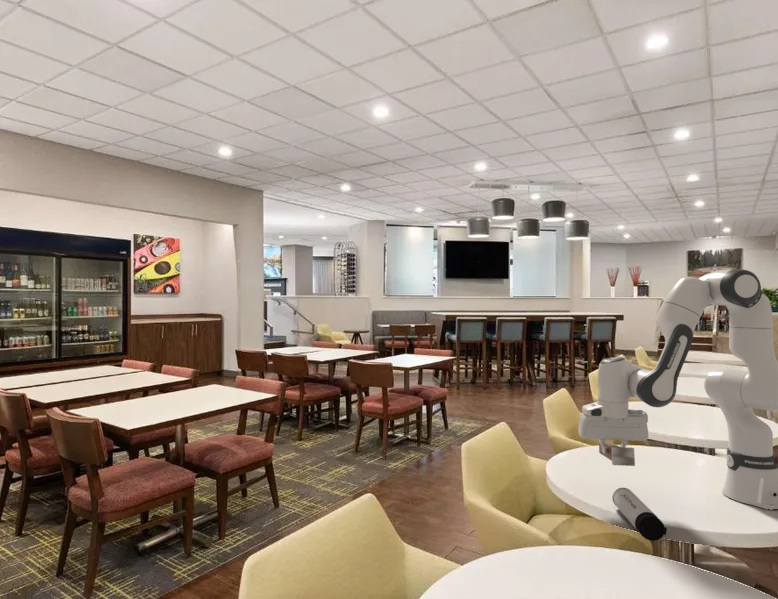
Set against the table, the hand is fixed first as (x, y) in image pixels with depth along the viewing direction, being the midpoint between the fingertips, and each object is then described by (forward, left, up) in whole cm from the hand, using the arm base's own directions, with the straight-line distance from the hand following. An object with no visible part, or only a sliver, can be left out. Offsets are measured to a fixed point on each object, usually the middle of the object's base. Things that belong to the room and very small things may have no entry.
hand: (612, 453), depth 153 cm
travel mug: (0, +9, -10) cm, 14 cm away
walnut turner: (0, 0, -2) cm, 2 cm away
